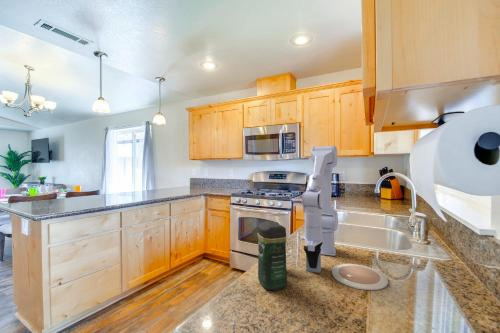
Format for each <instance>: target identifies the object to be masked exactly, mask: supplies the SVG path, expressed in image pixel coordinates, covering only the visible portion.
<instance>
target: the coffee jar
mask: <svg viewBox="0 0 500 333" xmlns="http://www.w3.org/2000/svg"><path fill="white" fill-rule="evenodd" d="M257 242H258V243H257V245H258V246H257V247H258V248H257V252H258V254H257V257H258V258H257V260H258V261H257V264H258V265H257V279H258V282H259V283H260V284H261V286H262V287H263V288H264V289H266V290H270V291H271V290H272V291H279V290H281V289H283V288H286V287H287V286H288V275H287V274H288V273H287V272H288V271H287V247H286V246H287V228H286V227H285V226H283V225H282V224H280V223H278V222H275V221H273V220H262V221H261V222H259V224H258V225H257Z"/></svg>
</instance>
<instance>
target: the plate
mask: <svg viewBox="0 0 500 333" xmlns="http://www.w3.org/2000/svg"><path fill="white" fill-rule="evenodd" d="M331 274H332V276H333V278H334V279H335V280H336V281H337V282H339V283H341V284H342V285H344V286H347V287H350V288H353V289H357V290H364V291H378V290H382V289H385V288H386V287H387V286H388V283H389V280H388V277H387V276H386V275H385V274H384V273H382V272H381V271H380V270H377V269H375V268H372V267H371V266H366V265H362V264H356V263H343V264H337V265H335V266H334V267H332V270H331Z"/></svg>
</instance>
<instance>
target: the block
mask: <svg viewBox="0 0 500 333" xmlns="http://www.w3.org/2000/svg"><path fill="white" fill-rule="evenodd" d="M305 257H306V258H305V259H306V260H305V266H306V267H305V268H306V272H311V273H318V274H320V273H321V271H322V254H321V252H320V254H319V256H318V262H317V267H316V269H314V268H310V267H309V263H308V258H307V255H306V254H305Z"/></svg>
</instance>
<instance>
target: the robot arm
mask: <svg viewBox="0 0 500 333" xmlns="http://www.w3.org/2000/svg"><path fill="white" fill-rule="evenodd" d="M310 157H311V160H312V163H313V172H312V174H311V175H309V177H308V182H307V185H306V189H305V192H302V195H301V205H302V211H303V213H304V236H301V240H302V241H304V242H305V243H306V245H304V246H303V251H304V252H305V256H306V255H307V258H308V263H309V267H310V268H314V269H316V267H317V262H318V256H319V254H320V252H321V255H325V256H326V255H327V256H333V257H334V256H335V257H336V255H337V254H336V252H337V251H336V250H337V249H336V248H337V247H336V245H335V243H336V242H335V232H336V231H338V229H339V214H338V211H337V210H336V209H335V208H333V207H332V180H333V179H332V175H333V174H332V172H333V169H334V168H335V167H337V164H338V148H337V146H336V145H327V146H326V145H325V146H312V148H311V149H310Z"/></svg>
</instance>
